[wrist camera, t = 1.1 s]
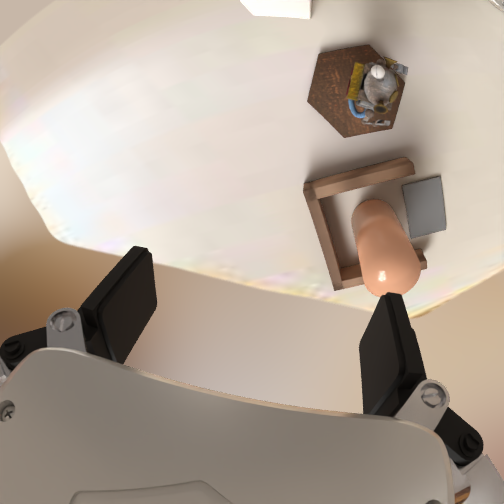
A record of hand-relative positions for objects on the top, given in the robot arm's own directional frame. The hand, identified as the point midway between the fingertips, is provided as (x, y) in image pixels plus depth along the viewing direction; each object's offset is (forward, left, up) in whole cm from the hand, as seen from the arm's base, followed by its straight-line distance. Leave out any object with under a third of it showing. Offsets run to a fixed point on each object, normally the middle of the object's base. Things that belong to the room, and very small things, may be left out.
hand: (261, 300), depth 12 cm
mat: (-13, +10, -24) cm, 29 cm away
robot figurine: (-9, -5, -25) cm, 26 cm away
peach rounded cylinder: (-7, +11, -24) cm, 27 cm away
